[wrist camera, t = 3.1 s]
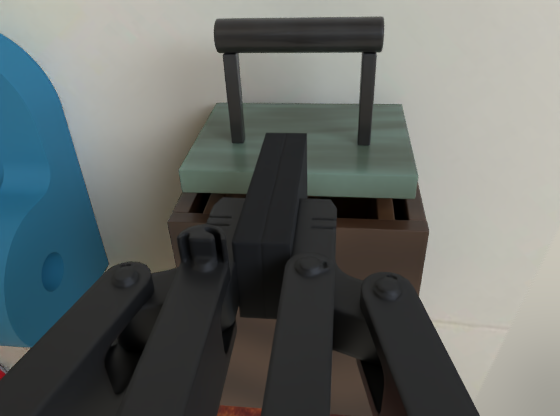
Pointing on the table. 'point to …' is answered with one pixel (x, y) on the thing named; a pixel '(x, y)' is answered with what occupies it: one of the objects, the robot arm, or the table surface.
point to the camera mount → (40, 206)
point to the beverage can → (2, 372)
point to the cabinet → (351, 260)
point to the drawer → (306, 122)
